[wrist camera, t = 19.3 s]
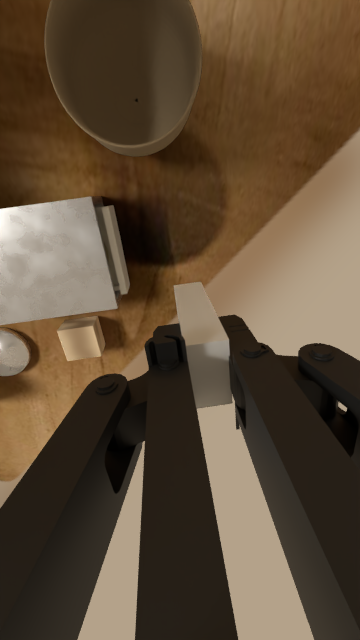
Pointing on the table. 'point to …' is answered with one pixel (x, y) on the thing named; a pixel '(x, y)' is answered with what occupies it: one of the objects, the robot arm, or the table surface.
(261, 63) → the table surface
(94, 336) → the oak block
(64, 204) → the housing
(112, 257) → the tray
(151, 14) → the bowl
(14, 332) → the silver disc
